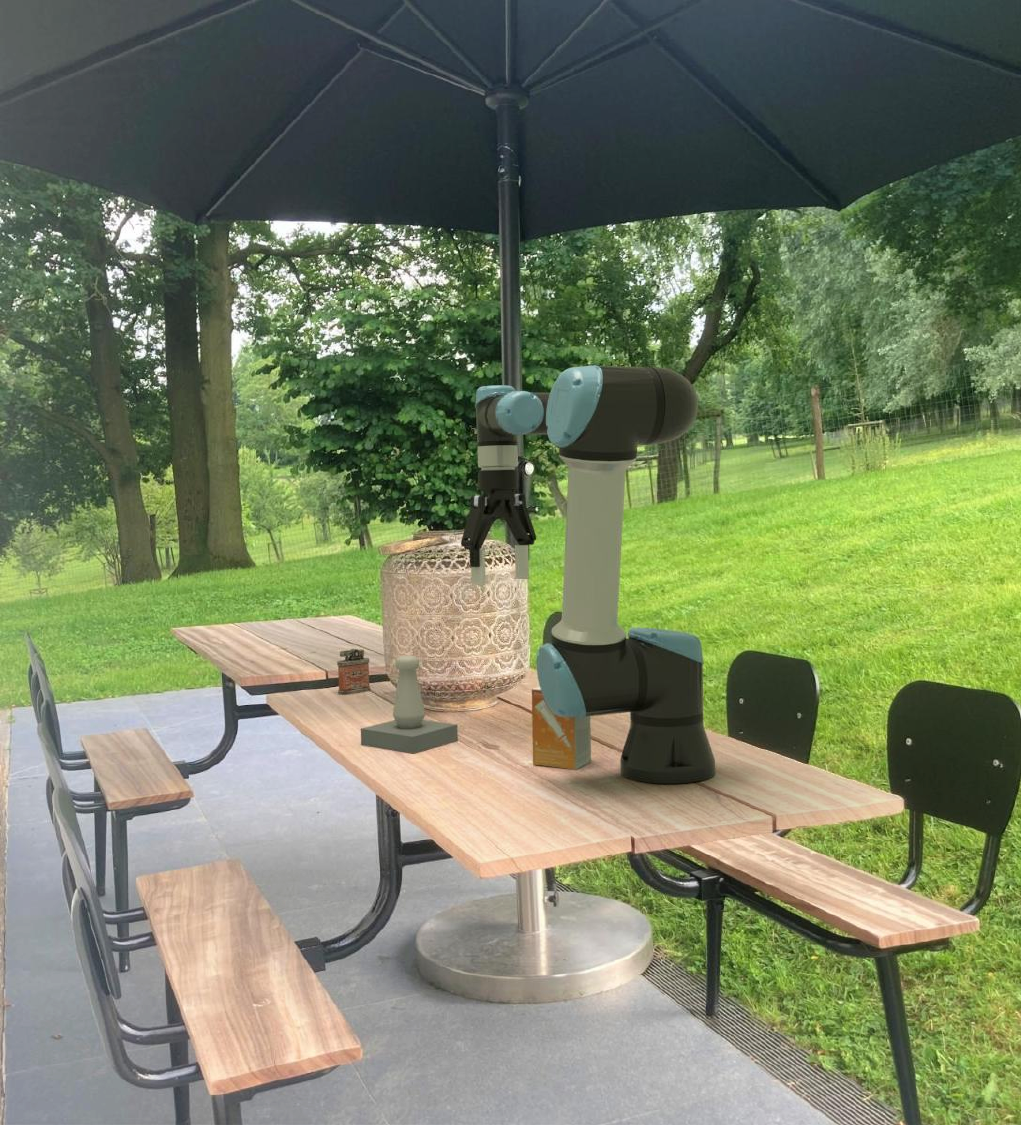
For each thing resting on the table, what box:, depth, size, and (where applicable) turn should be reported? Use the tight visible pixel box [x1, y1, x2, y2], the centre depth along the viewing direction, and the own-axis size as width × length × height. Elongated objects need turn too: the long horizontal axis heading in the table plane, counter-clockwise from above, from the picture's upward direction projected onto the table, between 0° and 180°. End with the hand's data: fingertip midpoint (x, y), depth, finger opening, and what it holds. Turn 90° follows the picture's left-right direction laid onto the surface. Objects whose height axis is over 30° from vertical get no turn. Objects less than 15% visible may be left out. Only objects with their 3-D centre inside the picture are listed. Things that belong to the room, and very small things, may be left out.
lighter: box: [336, 647, 371, 696], centre depth 271 cm, size 8×3×10 cm, turn 130°
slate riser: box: [360, 719, 459, 754], centre depth 217 cm, size 13×12×3 cm
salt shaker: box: [392, 655, 426, 729], centre depth 216 cm, size 6×6×13 cm
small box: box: [531, 685, 592, 771], centre depth 198 cm, size 8×6×13 cm
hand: (501, 582), depth 223 cm, fingers open, 13 cm apart
